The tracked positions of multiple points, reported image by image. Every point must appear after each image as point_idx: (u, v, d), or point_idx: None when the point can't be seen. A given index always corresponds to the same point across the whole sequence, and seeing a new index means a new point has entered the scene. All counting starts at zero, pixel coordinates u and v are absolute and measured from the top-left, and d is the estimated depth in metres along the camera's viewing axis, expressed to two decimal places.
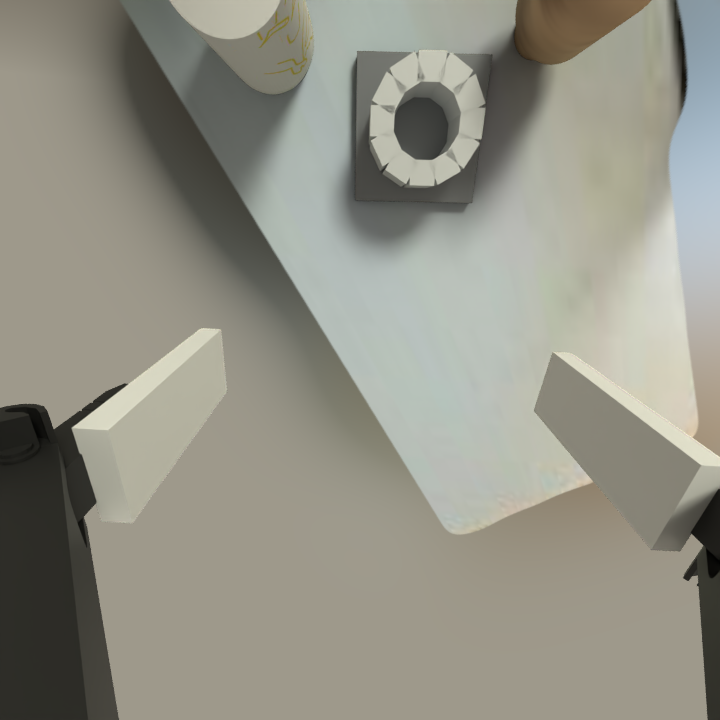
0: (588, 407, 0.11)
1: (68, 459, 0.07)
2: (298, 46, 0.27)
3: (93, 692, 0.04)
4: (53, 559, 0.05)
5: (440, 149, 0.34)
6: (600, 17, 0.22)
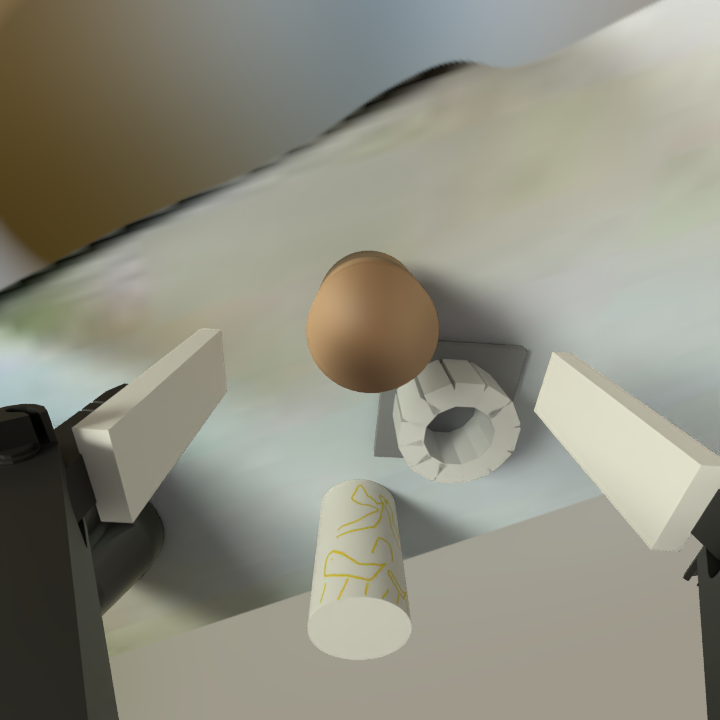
0: (588, 407, 0.11)
1: (68, 459, 0.07)
2: (385, 528, 0.32)
3: (93, 692, 0.04)
4: (53, 559, 0.05)
5: None
6: (431, 344, 0.19)
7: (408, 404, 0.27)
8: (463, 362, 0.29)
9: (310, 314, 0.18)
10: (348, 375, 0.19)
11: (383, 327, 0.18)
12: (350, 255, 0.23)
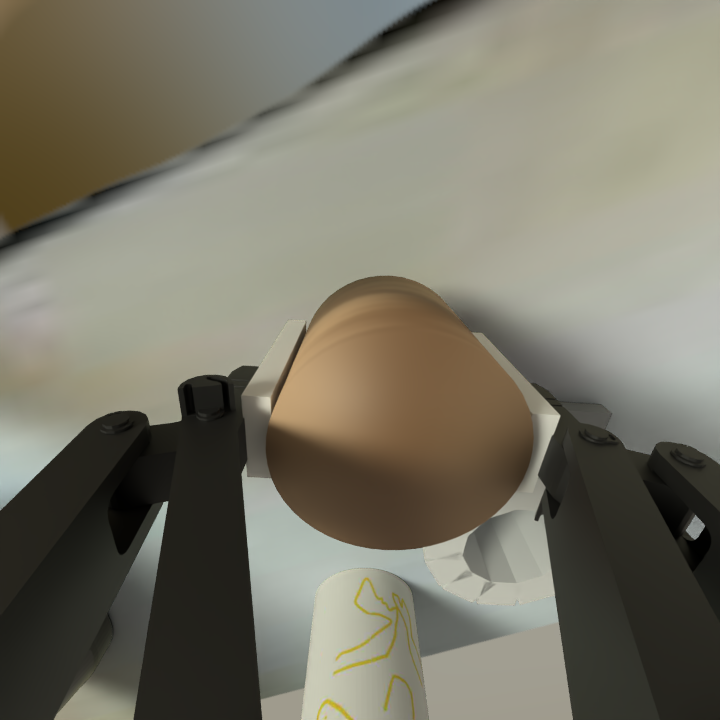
0: None
1: (236, 421, 0.09)
2: (402, 654, 0.23)
3: None
4: (232, 506, 0.06)
5: None
6: (513, 474, 0.09)
7: None
8: None
9: (272, 423, 0.09)
10: (349, 524, 0.10)
11: (420, 445, 0.09)
12: (354, 284, 0.14)
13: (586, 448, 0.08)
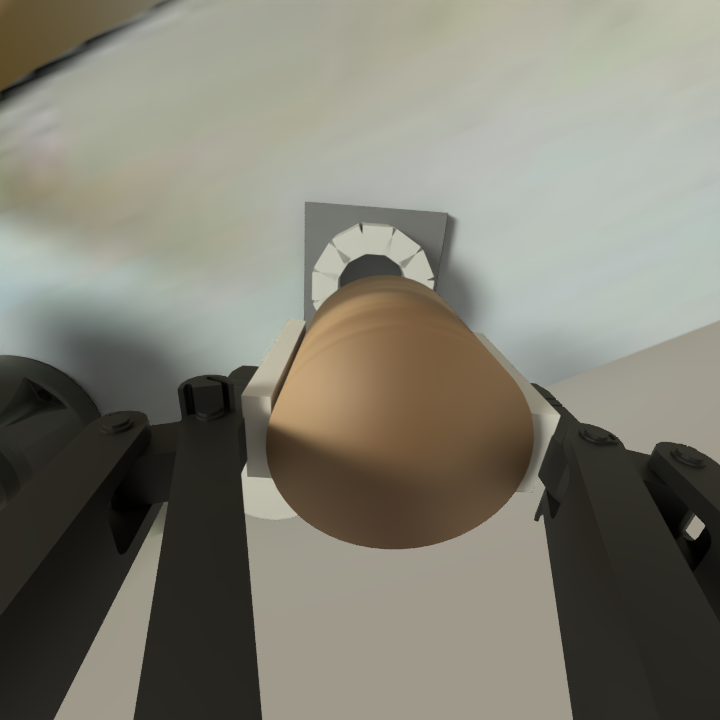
0: None
1: (236, 421, 0.09)
2: None
3: None
4: (232, 506, 0.06)
5: None
6: (514, 473, 0.09)
7: None
8: (382, 224, 0.29)
9: (272, 421, 0.09)
10: (350, 523, 0.10)
11: (420, 444, 0.09)
12: (355, 283, 0.14)
13: (586, 448, 0.08)
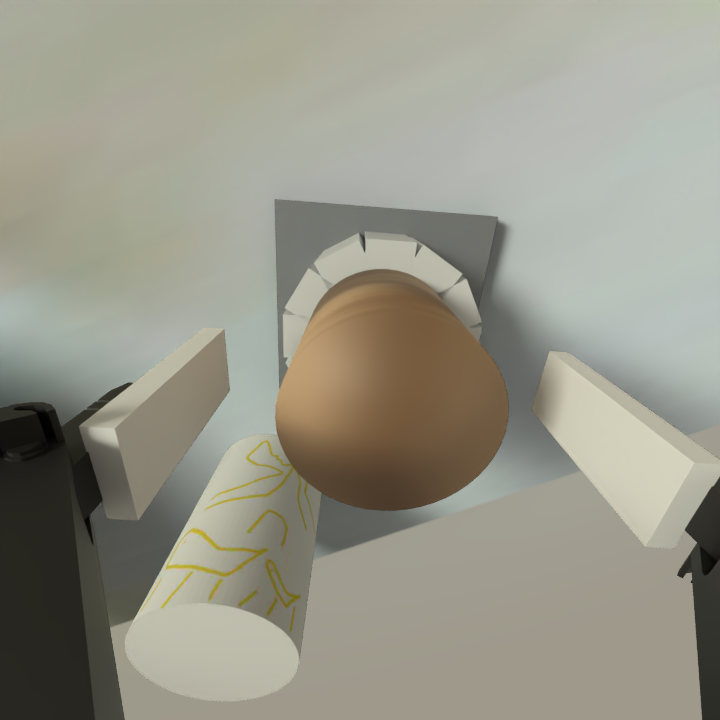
0: (584, 406, 0.11)
1: (75, 457, 0.07)
2: (285, 498, 0.21)
3: (99, 689, 0.04)
4: (60, 556, 0.05)
5: None
6: (492, 440, 0.11)
7: None
8: (396, 234, 0.19)
9: (281, 393, 0.10)
10: (349, 486, 0.12)
11: (410, 413, 0.10)
12: (353, 276, 0.15)
13: None
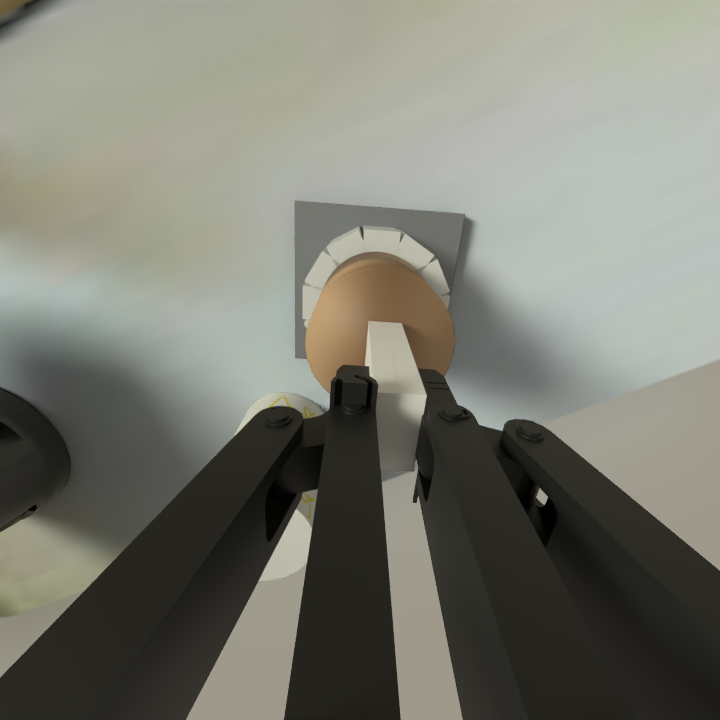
0: None
1: None
2: None
3: None
4: (372, 501, 0.06)
5: None
6: (445, 357, 0.17)
7: None
8: (387, 227, 0.24)
9: (310, 324, 0.16)
10: None
11: None
12: (355, 256, 0.21)
13: (445, 428, 0.09)
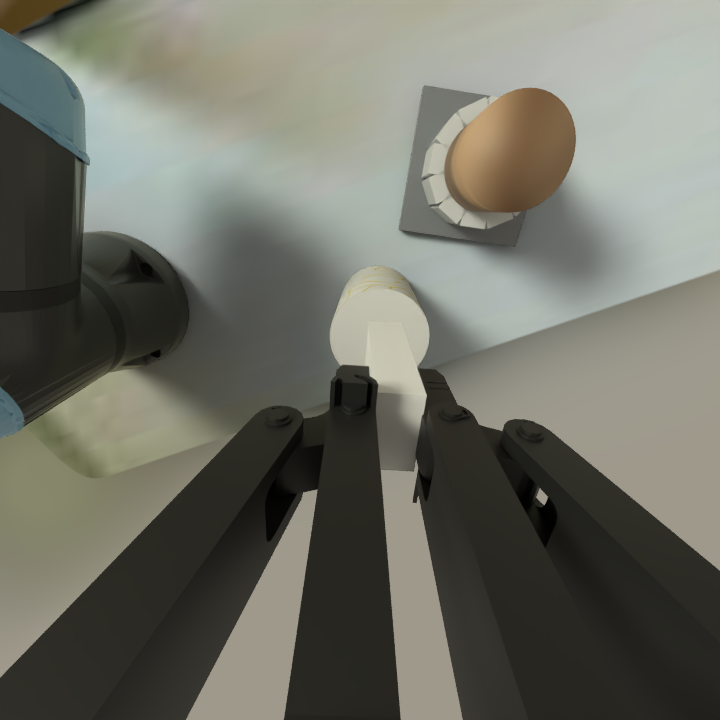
0: None
1: None
2: (406, 284, 0.33)
3: None
4: (373, 501, 0.06)
5: None
6: (565, 167, 0.23)
7: (441, 130, 0.29)
8: None
9: (473, 130, 0.22)
10: (490, 193, 0.24)
11: (529, 147, 0.22)
12: None
13: (445, 428, 0.09)
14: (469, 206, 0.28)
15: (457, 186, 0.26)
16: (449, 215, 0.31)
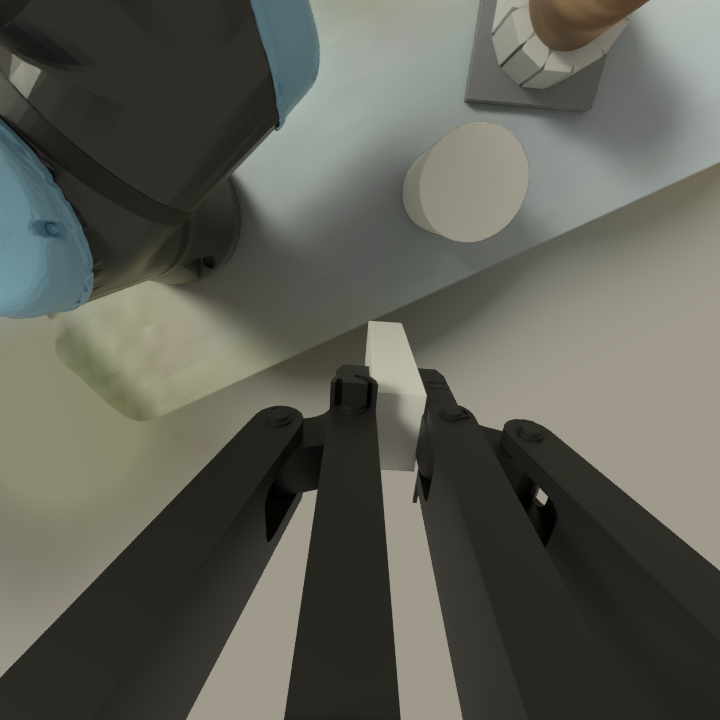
0: None
1: None
2: None
3: None
4: (373, 501, 0.06)
5: None
6: None
7: None
8: None
9: None
10: None
11: None
12: None
13: (445, 428, 0.09)
14: (563, 32, 0.26)
15: None
16: (533, 58, 0.28)
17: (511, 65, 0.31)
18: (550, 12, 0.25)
